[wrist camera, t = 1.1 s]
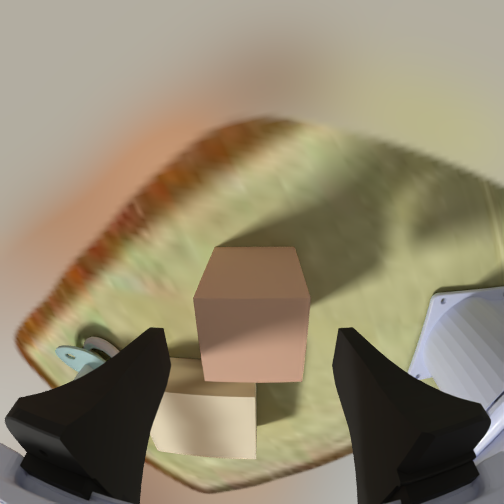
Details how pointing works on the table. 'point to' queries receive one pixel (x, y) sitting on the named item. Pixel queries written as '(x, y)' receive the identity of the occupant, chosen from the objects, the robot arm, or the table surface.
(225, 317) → the terracotta block
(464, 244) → the table surface
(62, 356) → the pacifier
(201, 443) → the birch block
